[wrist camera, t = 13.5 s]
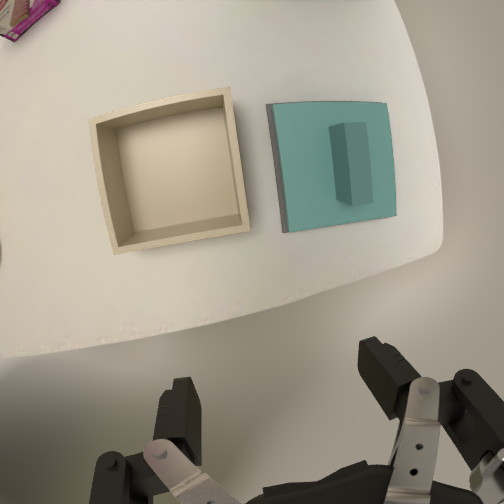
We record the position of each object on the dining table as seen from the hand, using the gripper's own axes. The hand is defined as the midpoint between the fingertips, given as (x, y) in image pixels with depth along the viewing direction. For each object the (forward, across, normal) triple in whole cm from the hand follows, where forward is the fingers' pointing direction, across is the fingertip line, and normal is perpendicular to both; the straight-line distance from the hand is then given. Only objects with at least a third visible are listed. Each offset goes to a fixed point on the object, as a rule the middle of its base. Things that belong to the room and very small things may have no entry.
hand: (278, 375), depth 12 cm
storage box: (+29, +6, -10) cm, 31 cm away
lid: (+27, -16, -8) cm, 32 cm away
